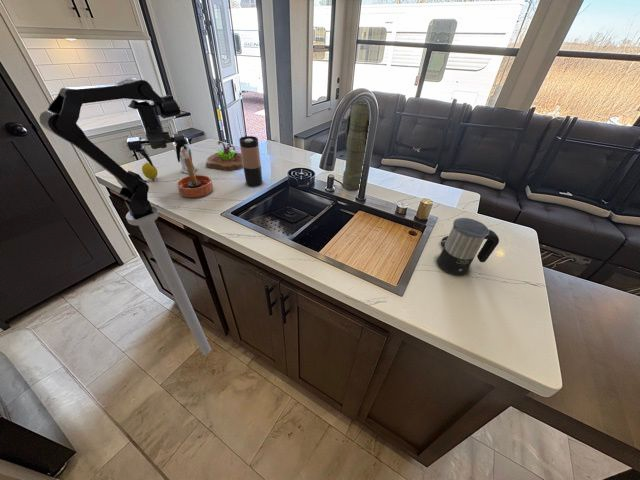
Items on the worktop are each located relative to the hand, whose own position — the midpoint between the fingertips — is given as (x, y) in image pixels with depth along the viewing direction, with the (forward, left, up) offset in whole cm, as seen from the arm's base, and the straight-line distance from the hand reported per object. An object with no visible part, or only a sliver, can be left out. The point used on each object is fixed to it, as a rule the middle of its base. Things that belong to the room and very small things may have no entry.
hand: (166, 163), depth 99 cm
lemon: (-1, +20, -13) cm, 24 cm away
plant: (+34, +14, -13) cm, 39 cm away
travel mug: (+29, -15, -13) cm, 35 cm away
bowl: (+7, -4, -13) cm, 15 cm away
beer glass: (+15, +18, -13) cm, 27 cm away
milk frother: (+41, -101, -13) cm, 110 cm away
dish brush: (+7, -4, -12) cm, 15 cm away
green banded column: (+59, -49, -13) cm, 78 cm away
